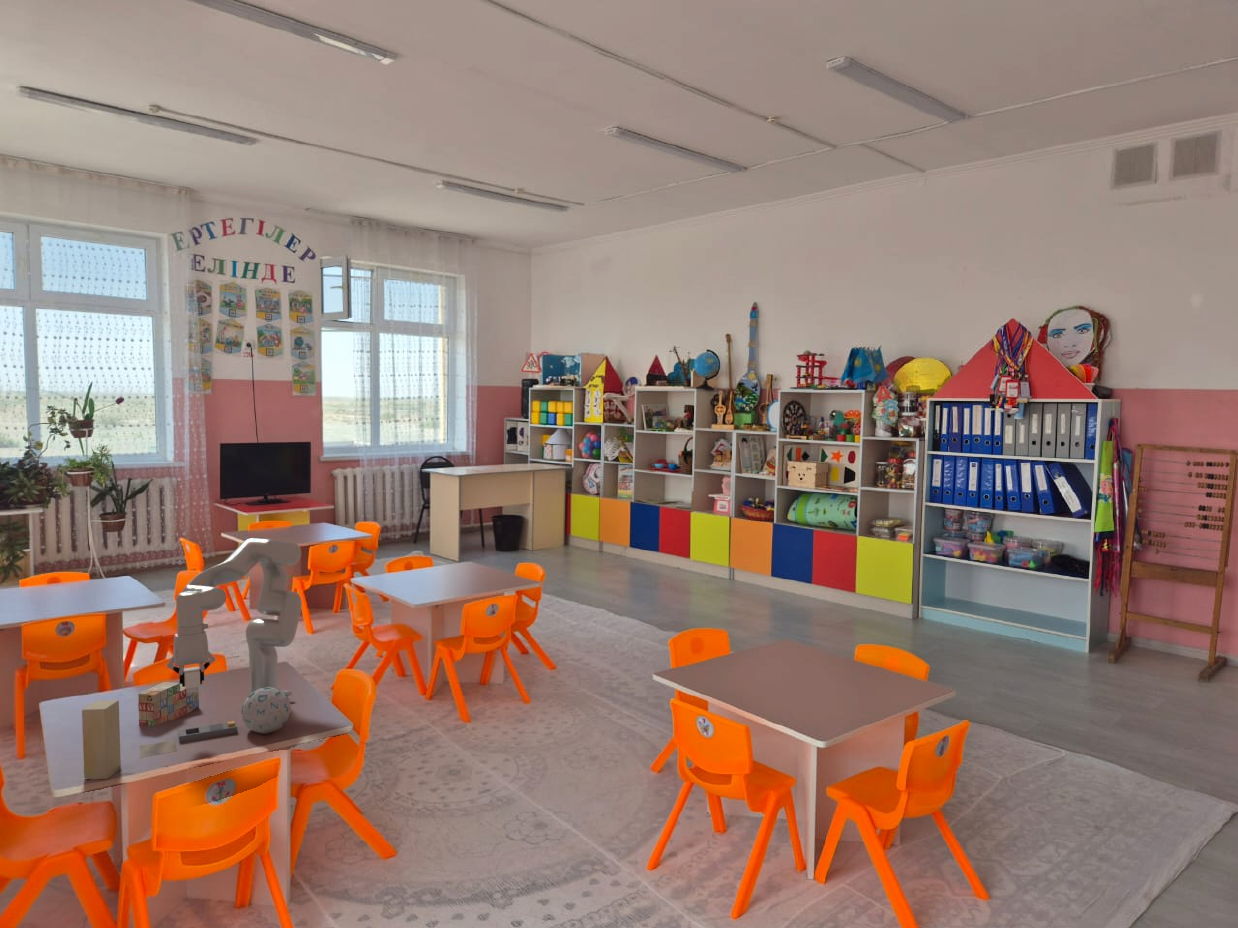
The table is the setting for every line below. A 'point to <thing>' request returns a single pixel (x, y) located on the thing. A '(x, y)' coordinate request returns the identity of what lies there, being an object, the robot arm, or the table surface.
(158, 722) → the stack of blocks
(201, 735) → the power strip
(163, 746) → the pad
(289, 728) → the table surface
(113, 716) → the tall wooden block
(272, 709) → the puzzle ball
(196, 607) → the robot arm
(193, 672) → the block
